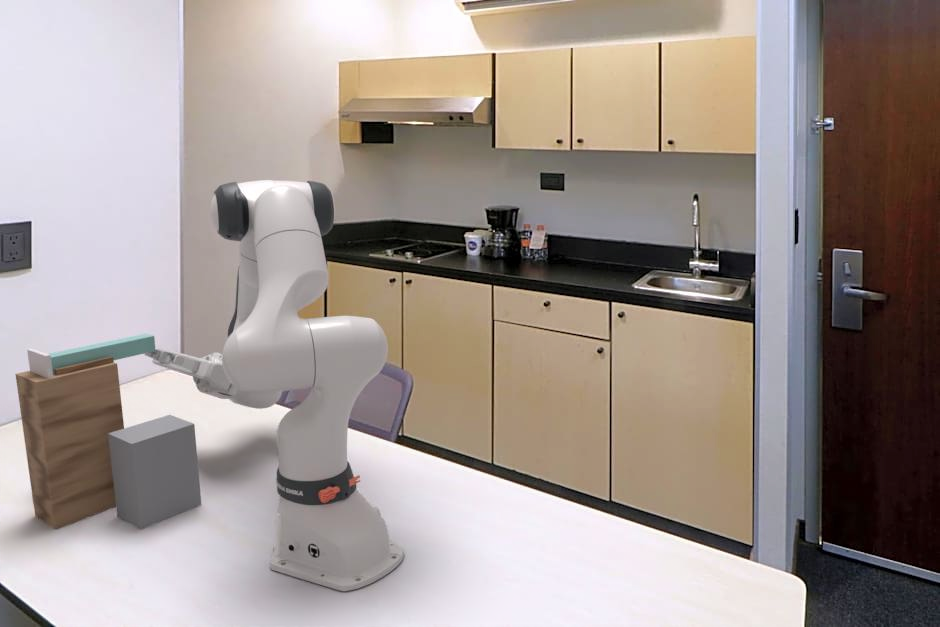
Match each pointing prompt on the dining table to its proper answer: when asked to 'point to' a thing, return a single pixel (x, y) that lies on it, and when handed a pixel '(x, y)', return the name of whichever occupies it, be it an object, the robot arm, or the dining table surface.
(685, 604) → the dining table surface
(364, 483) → the dining table surface
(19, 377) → the upright wood-grain block
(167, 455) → the upright gray brick
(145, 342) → the scraper
